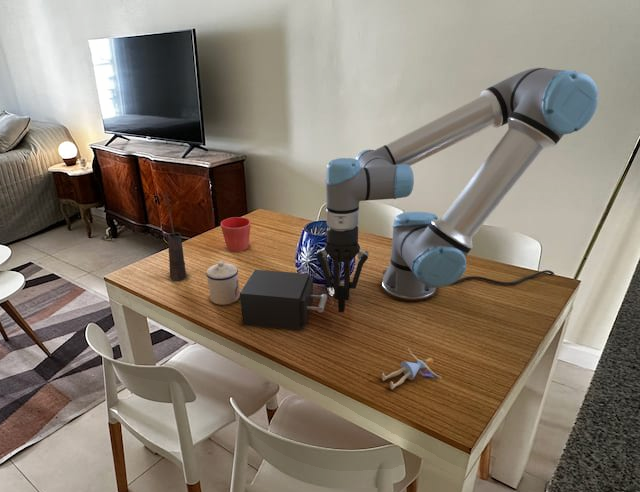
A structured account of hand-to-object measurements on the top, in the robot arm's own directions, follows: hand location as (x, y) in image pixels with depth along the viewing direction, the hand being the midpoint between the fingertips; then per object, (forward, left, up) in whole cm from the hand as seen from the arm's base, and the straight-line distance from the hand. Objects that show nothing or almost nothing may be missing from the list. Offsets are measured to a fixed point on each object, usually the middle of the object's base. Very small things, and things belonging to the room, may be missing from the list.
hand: (341, 309), depth 119 cm
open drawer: (+14, 0, -2) cm, 14 cm away
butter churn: (+54, -15, -3) cm, 56 cm away
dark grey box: (+18, 0, -3) cm, 18 cm away
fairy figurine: (-17, +20, -3) cm, 27 cm away
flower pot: (+43, -41, -3) cm, 59 cm away
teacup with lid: (+36, -7, -3) cm, 36 cm away
